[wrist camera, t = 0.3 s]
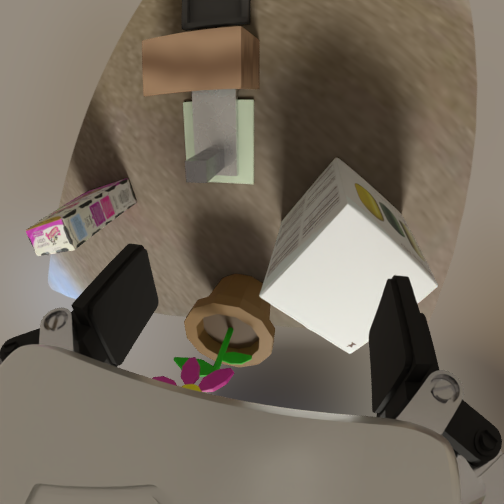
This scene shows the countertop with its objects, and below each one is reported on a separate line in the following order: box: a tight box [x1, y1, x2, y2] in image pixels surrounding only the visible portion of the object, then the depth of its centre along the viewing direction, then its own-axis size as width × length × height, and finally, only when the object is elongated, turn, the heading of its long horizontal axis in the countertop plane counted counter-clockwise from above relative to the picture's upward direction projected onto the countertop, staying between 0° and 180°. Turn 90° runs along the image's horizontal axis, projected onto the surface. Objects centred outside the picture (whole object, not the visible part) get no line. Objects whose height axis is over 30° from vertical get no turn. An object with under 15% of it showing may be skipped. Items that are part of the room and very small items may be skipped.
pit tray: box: [182, 0, 250, 31], centre depth 28 cm, size 7×9×2 cm
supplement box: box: [259, 157, 438, 354], centre depth 34 cm, size 13×13×18 cm
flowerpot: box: [152, 274, 275, 393], centre depth 41 cm, size 14×14×30 cm
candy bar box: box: [26, 178, 137, 256], centre depth 41 cm, size 11×5×16 cm, turn 104°
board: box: [183, 100, 254, 184], centre depth 39 cm, size 12×10×1 cm
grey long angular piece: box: [185, 89, 239, 183], centre depth 33 cm, size 19×6×8 cm, turn 0°
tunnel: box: [142, 26, 259, 96], centre depth 30 cm, size 7×11×10 cm, turn 90°
